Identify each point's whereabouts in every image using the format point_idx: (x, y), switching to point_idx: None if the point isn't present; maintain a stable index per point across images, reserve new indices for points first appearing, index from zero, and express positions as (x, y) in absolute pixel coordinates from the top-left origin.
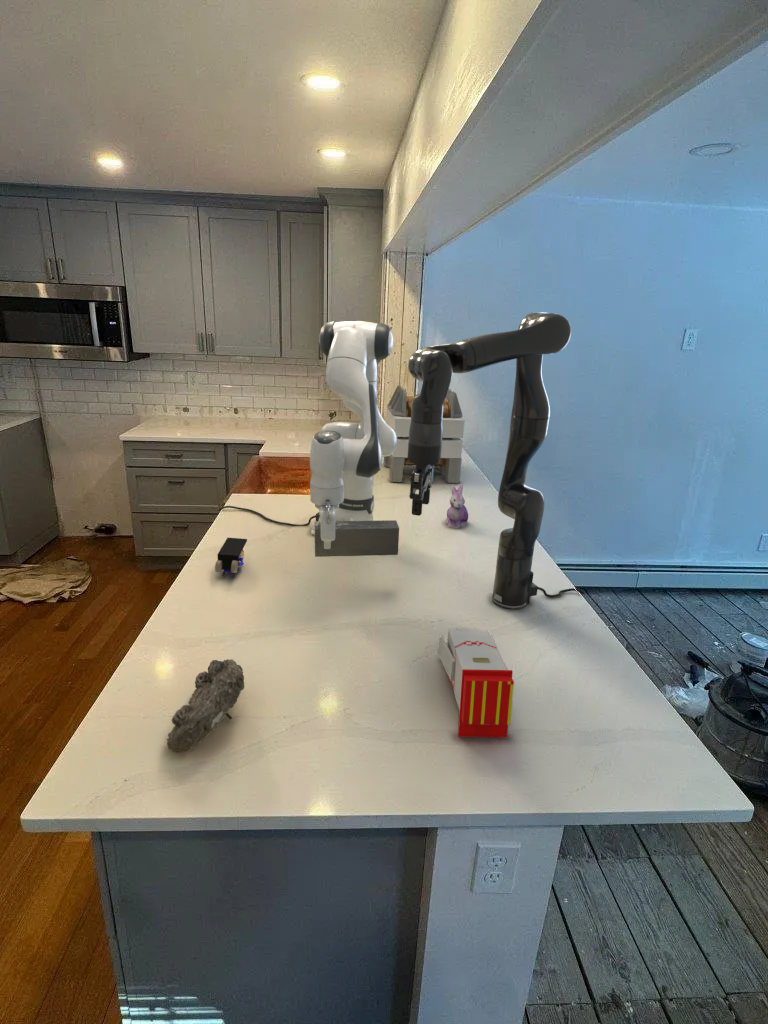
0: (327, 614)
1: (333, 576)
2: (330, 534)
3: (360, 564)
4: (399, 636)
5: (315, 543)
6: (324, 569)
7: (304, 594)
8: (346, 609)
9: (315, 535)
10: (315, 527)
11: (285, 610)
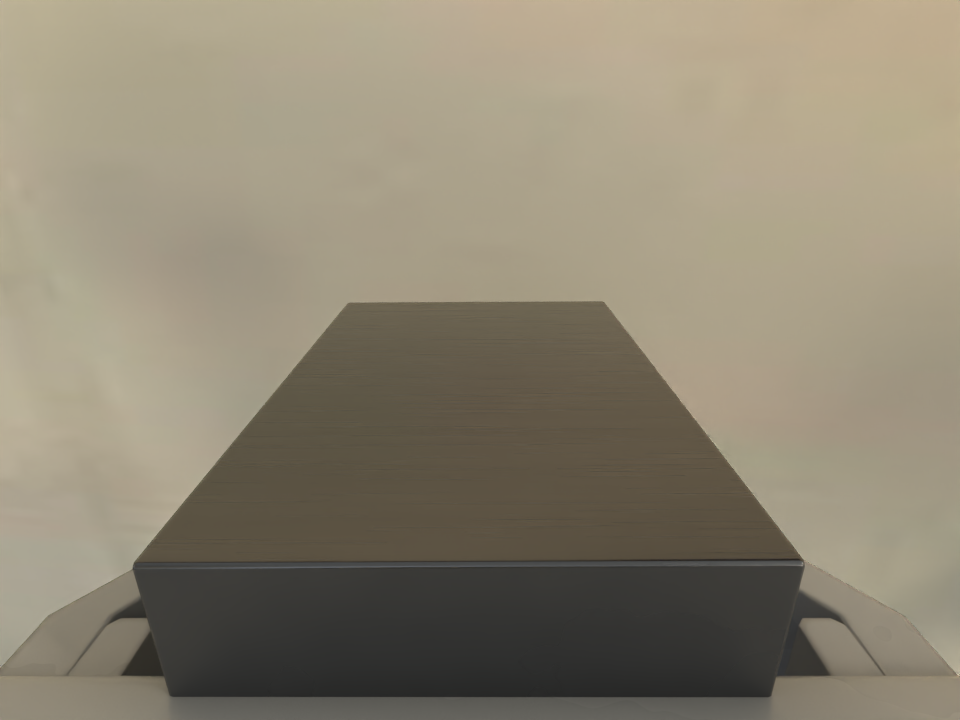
0: (177, 297)
1: (676, 347)
2: None
3: (807, 504)
4: (28, 606)
5: (287, 383)
6: (793, 292)
7: (432, 148)
8: (250, 402)
9: (223, 468)
10: (294, 585)
11: (190, 3)
